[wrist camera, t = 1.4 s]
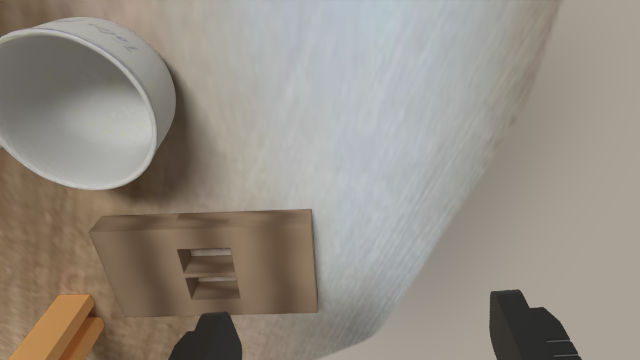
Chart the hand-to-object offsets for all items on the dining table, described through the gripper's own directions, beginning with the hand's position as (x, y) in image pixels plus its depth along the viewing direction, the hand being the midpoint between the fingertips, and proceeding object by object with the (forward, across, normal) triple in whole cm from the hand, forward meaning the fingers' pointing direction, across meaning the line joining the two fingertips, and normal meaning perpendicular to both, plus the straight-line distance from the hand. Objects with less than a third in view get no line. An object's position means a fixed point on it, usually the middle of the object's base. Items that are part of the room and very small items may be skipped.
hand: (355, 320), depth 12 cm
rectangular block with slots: (+22, +16, +14) cm, 31 cm away
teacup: (+22, +19, -5) cm, 29 cm away
